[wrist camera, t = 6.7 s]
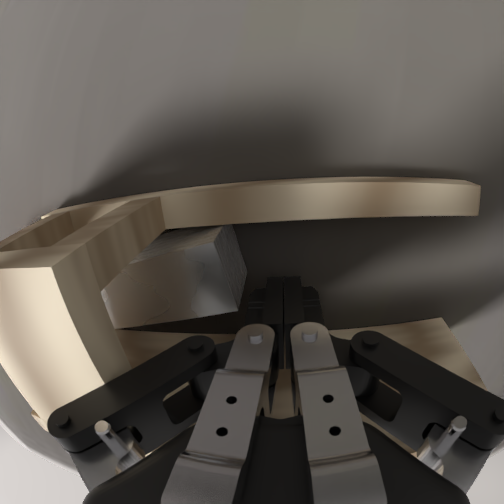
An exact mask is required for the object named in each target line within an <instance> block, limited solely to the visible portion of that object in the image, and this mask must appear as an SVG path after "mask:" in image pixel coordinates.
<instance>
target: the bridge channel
mask: <svg viewBox="0 0 504 504" xmlns="http://www.w3.org/2000/svg"><path fill="white" fill-rule="evenodd" d="M480 193H481V186H480V185H477V184H474V183H472V182H469V181H466V180H456V179H440V178H417V177H322V178H297V179H279V180H264V181H250V182H238V183H227V184H216V185H207V186H198V187H189V188H181V189H173V190H165V191H158V192H151V193H144V194H137V195H131V196H125V197H118V198H113V199H107V200H101V201H96V202H90V203H85V204H80V205H75V206H70V207H65V208H60V209H56V210H54V211H52V212H50V213H48V214H46V215H44V216H42V217H41V220H39V221H38V222H36V223H34V224H32V225H30V226H28V227H26V228H24V229H22V230H20V231H18V232H17V233H15V234H13V235H11V236H9V237H8V238H6V239H4V240H2V241H1V242H0V363H1V365H2V366H3V368H4V369H5V371H6V372H7V374H8V375H9V377H10V378H11V380H12V381H13V383H14V384H15V386H16V387H17V388H18V390H19V391H20V392H21V394H22V395H23V396H24V398H25V399H26V400H27V402H28V403H29V404H30V406H31V407H32V408H33V411H32V412H31V415H32V416H33V417H34V418H35V419H36V421H37V422H38V423H39V424H40V425H41V426H42V427H43V428H44V430H46V431H48V428H47V421H48V418H49V416H50V415H51V413H52V412H53V411H55V410H56V409H58V408H59V407H61V406H63V405H65V404H67V403H69V402H71V401H73V400H75V399H77V398H79V397H81V396H83V395H85V394H87V393H89V392H91V391H92V390H94V389H96V388H98V387H100V386H102V385H104V384H106V383H107V382H109V381H111V380H113V379H115V378H117V377H119V376H120V375H122V374H124V373H126V372H128V371H129V370H131V369H133V368H135V367H137V366H138V365H140V364H142V363H144V362H146V361H147V360H149V359H151V358H153V357H154V356H156V355H158V354H160V353H161V352H163V351H165V350H167V349H168V348H170V347H172V346H174V345H175V344H177V343H179V342H180V341H182V340H184V339H186V338H188V337H191V336H195V335H203V336H207V337H210V338H211V339H212V340H213V341H214V343H215V344H220V343H225V342H229V341H231V340H234V339H235V337H236V334H194V333H167V332H149V331H134V330H122V329H114V326H113V324H112V321H111V319H110V316H109V314H108V311H107V309H106V306H105V303H104V300H103V298H102V295H101V291H102V290H103V289H104V288H105V287H106V286H107V285H108V284H109V283H110V282H111V281H112V280H113V279H114V278H115V277H116V276H117V275H118V274H119V273H120V272H121V271H122V270H123V269H124V268H125V267H126V266H127V265H128V264H129V263H130V262H131V261H132V260H133V259H134V258H135V257H136V256H137V255H139V254H140V253H141V252H142V251H143V250H144V249H145V248H146V247H147V246H148V245H149V244H150V243H151V242H152V241H153V240H155V239H156V238H157V237H158V236H159V235H160V234H161V233H162V232H163V231H164V230H166V229H174V228H186V227H199V226H212V225H226V224H241V223H257V222H273V221H292V220H312V219H335V218H362V217H399V216H478V213H479V204H480ZM366 330H370V331H376V332H379V333H381V334H383V335H385V336H387V337H389V338H390V339H392V340H394V341H396V342H398V343H399V344H401V345H403V346H405V347H407V348H409V349H410V350H412V351H414V352H416V353H418V354H420V355H421V356H423V357H425V358H427V359H429V360H431V361H432V362H434V363H436V364H438V365H440V366H442V367H444V368H445V369H447V370H449V371H451V372H453V373H455V374H456V375H458V376H460V377H462V378H464V379H466V380H468V381H469V382H471V383H473V384H475V385H477V386H479V387H481V388H482V389H484V390H486V391H488V390H487V388H486V387H485V385H484V383H483V381H482V380H481V378H480V376H479V374H478V373H477V371H476V369H475V368H474V366H473V364H472V363H471V361H470V359H469V358H468V356H467V355H466V353H465V351H464V350H463V348H462V347H461V345H460V344H459V342H458V341H457V339H456V338H455V336H454V335H453V333H452V332H451V330H450V329H449V327H448V326H447V324H446V323H445V321H444V320H443V319H442V317H440V318H434V319H428V320H421V321H414V322H407V323H400V324H392V325H383V326H374V327H365V328H354V329H343V330H330V331H328V332H329V333H330V334H331V335H333V336H335V337H337V338H341V339H348V340H351V339H352V337H353V336H354V335H355V334H356V333H358V332H361V331H366ZM379 381H380V382H382V383H383V384H385V385H387V386H388V387H390V388H391V389H393V390H394V391H396V392H397V393H399V392H398V391H397V390H396V389H394V388H392V387H391V386H389V385H388V384H386V383H385V382H383V381H381V380H379ZM188 385H189V384H188V382H186V383H185V384H183V385H182V386H180V387H179V388H177V389H176V390H174V391H172V392H171V393H169V394H168V395H167V396H166V397H165V398H164V400H166V399H167V398H169V397H171V396H172V395H174V394H175V393H177V392H178V391H180V390H182V389H183V388H185V387H186V386H188ZM399 394H400V393H399ZM164 400H163V401H164ZM360 416H361V419H362V421H363V422H366V423H368V424H370V425H372V426H374V427H376V428H377V429H379V430H380V431H381V432H382V433H384V434H385V435H386V436H388V437H389V438H390V439H392V440H393V441H394V442H396V443H397V444H398V445H400V446H401V447H402V448H404V449H405V450H406V451H408V452H409V453H410V454H412V455H413V456H415V457H416V458H417V452H416V451H415V450H413V449H412V448H410V447H409V446H407V445H406V444H404V443H403V442H401V441H400V440H399V439H397V438H396V437H394V436H393V435H391V434H390V433H388V432H387V431H386V430H384V429H383V428H381V427H380V426H379V425H377V424H376V423H374V422H373V421H372V420H370V419H369V418H367V417H366V416H365V415H363V414H362V413H361V412H360ZM289 417H294V413H293V403H292V393H291V369H286V359H285V341H284V369H279V376H278V379H277V390H276V396H275V403H274V409H273V415H272V418H275V419H285V418H289ZM195 424H196V422H195V423H194V424H193V425H195ZM193 425H191V426H193ZM191 426H190V427H191ZM188 428H189V427H188ZM48 432H49V431H48ZM179 434H180V433H179ZM176 436H177V435H176ZM173 438H174V437H173ZM173 438H172V439H173ZM170 440H171V439H170ZM170 440H169V441H170ZM167 442H168V441H167ZM167 442H166V443H167ZM164 444H165V443H164ZM164 444H163V445H164ZM161 446H162V445H161ZM161 446H159V447H158V448H160V447H161ZM158 448H156V449H155V450H157V449H158ZM155 450H153V451H151V452H150V453H148V454H146V455H145V457H146V456H148V455H149V454H151V453H152V452H154V451H155Z"/></svg>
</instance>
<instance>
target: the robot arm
mask: <svg viewBox="0 0 504 504" xmlns="http://www.w3.org/2000/svg"><path fill="white" fill-rule="evenodd" d="M284 341H285V359H286V369H291V393H292V403H293V413H294V417H289V418H285V419H275V418H272V415H273V409H274V403H275V396H276V390H277V379H278V376H279V369H284ZM379 380H381V381H383V382H385V383H386V384H388V385H389V386H391V387H392V388H394V389H396V390H397V391H398V392H399V393H400V394H399V393H397V392H396V391H394V390H393V389H391V388H390V387H388V386H387V385H385V384H383V383H382V382H380V381H379ZM186 382H188V384H189V385H188V386H186V387H185V388H183V389H182V390H180V391H178V392H177V393H175V394H174V395H172V396H171V397H169V398H167V399H166V400H164V398H165V397H166V396H167V395H168V394H169V393H171V392H172V391H174V390H176V389H177V388H179V387H180V386H182V385H183V384H185V383H186ZM163 400H164V401H163ZM360 412H361V413H362V414H363V415H365V416H366V417H367V418H369V419H370V420H372V421H373V422H374V423H376V424H377V425H379V426H380V427H381V428H383V429H384V430H386V431H387V432H388V433H390V434H391V435H393V436H394V437H396V438H397V439H399V440H400V441H401V442H403V443H404V444H406V445H407V446H409V447H410V448H412V449H413V450H415V451H416V452H417V458H416V457H415V456H413V455H412V454H410V453H409V452H408V451H406V450H405V449H404V448H402V447H401V446H400V445H398V444H397V443H396V442H394V441H393V440H392V439H390V438H389V437H388V436H386V435H385V434H384V433H382V432H381V431H380V430H379V429H377V428H376V427H374V426H372V425H370V424H368V423H366V422H363V421H362V419H361V416H360ZM195 422H196V424H195V425H193V424H194V423H195ZM191 425H193V426H191ZM190 426H191V427H190ZM188 427H189V428H188ZM47 428H48V431H49V433H50V434H51V435H52V436H53V437H54V438H55V439H56V440H57V441H58V442H59V443H60V444H61V446H62V447H63V449H64V450H65V451H66V452H67V453H68V454H69V455H70V456H71V458H72V460H73V462H74V464H75V466H76V468H77V470H78V472H79V474H80V476H81V478H82V480H83V481H84V483H85V485H86V487H87V489H88V490H89V494H88V495H87V496H86V498H85V499H84V501H83V504H470V502H469V499H468V497H467V496H466V493H467V492H468V490H469V489H470V487H471V486H472V484H473V482H474V481H475V479H476V478H477V476H478V474H479V472H480V471H481V469H482V467H483V466H484V464H485V462H486V460H487V459H488V457H489V455H490V453H491V452H492V451H493V450H494V449H495V448H496V447H497V446H498V445H499V444H500V443H501V441H502V440H503V439H504V400H503V399H501V398H499V397H497V396H496V395H494V394H492V393H490V392H488V391H486V390H484V389H482V388H481V387H479V386H477V385H475V384H473V383H471V382H469V381H468V380H466V379H464V378H462V377H460V376H458V375H456V374H455V373H453V372H451V371H449V370H447V369H445V368H444V367H442V366H440V365H438V364H436V363H434V362H432V361H431V360H429V359H427V358H425V357H423V356H421V355H420V354H418V353H416V352H414V351H412V350H410V349H409V348H407V347H405V346H403V345H401V344H399V343H398V342H396V341H394V340H392V339H390V338H389V337H387V336H385V335H383V334H381V333H379V332H376V331H370V330H366V331H361V332H358V333H356V334H355V335H354V336H353V337H352V339H351V340H348V339H341V338H337V337H335V336H333V335H331V334H330V333H329V332H328V329H327V328H326V327H325V326H324V321H323V316H322V310H321V306H320V300H319V295H318V292H317V291H316V290H315V289H314V288H313V287H312V286H309V287H301V280H300V276H294V277H284V286H283V277H270V278H267V284H266V288H260V289H255V290H254V291H253V292H252V293H251V294H250V298H249V303H248V309H247V313H246V318H245V324H244V327H243V328H241V329H240V330H239V331H238V332H237V334H236V337H235V339H234V340H231V341H229V342H225V343H220V344H215V343H214V341H213V340H212V339H211V338H210V337H207V336H203V335H195V336H191V337H188V338H186V339H184V340H182V341H180V342H179V343H177V344H175V345H174V346H172V347H170V348H168V349H167V350H165V351H163V352H161V353H160V354H158V355H156V356H154V357H153V358H151V359H149V360H147V361H146V362H144V363H142V364H140V365H138V366H137V367H135V368H133V369H131V370H129V371H128V372H126V373H124V374H122V375H120V376H119V377H117V378H115V379H113V380H111V381H109V382H107V383H106V384H104V385H102V386H100V387H98V388H96V389H94V390H92V391H91V392H89V393H87V394H85V395H83V396H81V397H79V398H77V399H75V400H73V401H71V402H69V403H67V404H65V405H63V406H61V407H59V408H58V409H56V410H55V411H53V412H52V413H51V415H50V416H49V418H48V421H47ZM179 433H180V434H179ZM176 435H177V436H176ZM173 437H174V438H173ZM172 438H173V439H172ZM170 439H171V440H170ZM169 440H170V441H169ZM167 441H168V442H167ZM166 442H167V443H166ZM164 443H165V444H164ZM163 444H164V445H163ZM161 445H162V446H161ZM159 446H161V447H160V448H158V447H159ZM156 448H158V449H157V450H155V449H156ZM153 450H155V451H154V452H152V453H151V454H149V455H148V456H146V457H145V455H146V454H148V453H150V452H151V451H153Z"/></svg>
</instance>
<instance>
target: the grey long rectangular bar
mask: <svg viewBox="0 0 504 504" xmlns="http://www.w3.org/2000/svg"><path fill="white" fill-rule="evenodd" d="M246 275H247V268H246V265H245V262H244V259H243V256H242V253H241V250H240V247H239V244H238V241H237V238H236V235H235V232H234V228H233V225H232V224H226V225H212V226H199V227H186V228H182V229H179V230H175V231H172V232H168V233H165V234H161V235H159V236H158V237H157V238H156V239H155V240H153V241H152V242H151V243H150V244H149V245H148V246H147V247H146V248H145V249H144V250H143V251H142V252H141V253H140V254H139V255H137V256H136V257H135V258H134V259H133V260H132V261H131V262H130V263H129V264H128V265H127V266H126V267H125V268H124V269H123V270H122V271H121V272H120V273H119V274H118V275H117V276H116V277H115V278H114V279H113V280H112V281H111V282H110V283H109V284H108V285H107V286H106V287H105V288H104V289H103V290H102V291H101V295H102V298H103V300H104V303H105V306H106V309H107V311H108V314H109V316H110V319H111V321H112V324H113V326H114V329H119V328H128V327H136V326H143V325H151V324H158V323H165V322H172V321H179V320H186V319H192V318H199V317H205V316H211V315H217V314H223V313H228V312H234V311H238V310H239V305H240V301H241V297H242V292H243V288H244V284H245V279H246Z"/></svg>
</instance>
